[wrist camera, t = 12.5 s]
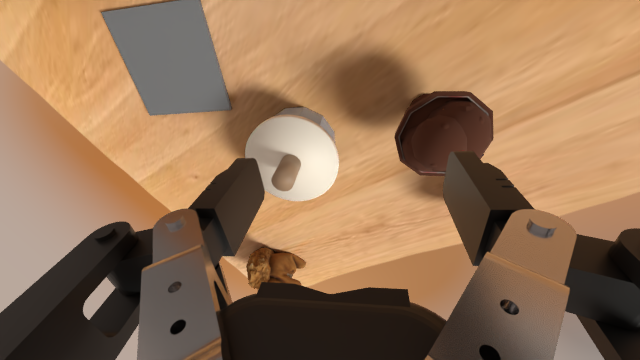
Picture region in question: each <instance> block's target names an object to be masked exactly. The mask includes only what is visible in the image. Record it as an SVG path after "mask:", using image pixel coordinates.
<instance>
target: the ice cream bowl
mask: <svg viewBox="0 0 640 360" xmlns="http://www.w3.org/2000/svg"><path fill="white" fill-rule="evenodd" d="M492 140H493V111H492V110H491V109H490V108H488V107H487V106H486V105H485V104H484V103H483V102H481V101H480V100H479V99H478V98H477V97H476V96H474V95H473V94H472V93H471V92H465V91H436V92H433V93H431V94H423V95H421V96H420V97H418V98H417V99H415V100H413V101H412V103H411V105H410V107H409V108H407V110H406V112H405V114H404V117H403V119H402V121H401V123H400V125H399V127H398V129H397V131H396V133H395V141H396V145H397V150H398V154H399V158H400V161H401V162H402V163H404V164H405V165H406V166H408V167H409V168H411V169H412V170H413V171H415V172H416V173H418V174H419V175H428V176H445V173H446V168H447V162H448V157H449V154H450V152H456V151H474V152H475V154H476V155H477V156H478V157H479V159H481V158H482V156H483V155H484V154H483V153H484V152H485V150H486V149H487V148H488V146H489V145H490V143H491V142H492Z"/></svg>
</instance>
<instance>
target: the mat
mask: <svg viewBox="0 0 640 360" xmlns="http://www.w3.org/2000/svg"><path fill="white" fill-rule="evenodd" d="M101 13H102V15H103V18H104V20H105V22H106V24H107V26H108V28H109V30H110V32H111V34H112V37H113V39H114V41H115V43H116V45H117V47H118V49H119V51H120V54H121V56H122V58H123V60H124V62H125V64H126V66H127V68H128V70H129V73H130V75H131V77H132V79H133V81H134V83H135V85H136V87H137V89H138V92H139V94H140V96H141V98H142V100H143V102H144V104H145V106H146V108H147V111H148V113H149V115H150V116H151V115H165V114H180V113H194V112H209V111H223V110H231V109H232V107H231V103H230V100H229V97H228V93H227V90H226V86H225V83H224V80H223V76H222V73H221V69H220V66H219V63H218V59H217V56H216V52H215V49H214V46H213V42H212V39H211V35H210V32H209V29H208V25H207V22H206V18H205V15H204V11H203V8H202V5H201V1H200V0H178V1H172V2H165V3H159V4H152V5H145V6H139V7H132V8H126V9H119V10H113V11H106V12H101Z"/></svg>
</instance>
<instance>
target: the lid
mask: <svg viewBox="0 0 640 360" xmlns="http://www.w3.org/2000/svg"><path fill="white" fill-rule="evenodd" d="M245 158H255V159H256V161H257V163H258V167H259V171H260V174H261V178H262V182H263V185H264V190H266V191H267V192H269V193H270V194H272V195H274V196H276V197H279V198H282V199H285V200H291V201H305V200H310V199H314V198H316V197H318V196H320V195H322V194H324V193H325V192H326V191H327V190H328V189H329V188H330V187H331V186H332V184H333V183H334V181H335V179H336V176H337V173H338V167H339V155H338V151H337V147H336V145H335V143H334V141H333V139H332V138H331V136H330V135H329V134H328V133H327V131H326V130H325V129H323V128H322V127H321V126H320V125H318V124H317V123H315V122H314V121H312V120H310V119H307V118H305V117H302V116H298V115H278V116H274V117H271V118H269V119H267V120H265V121H264V122H262V123H261V124H260V125H259V126H257V127H256V129H255V130H254V131H253V132H252V133H251V135H250V137H249V138H248V141H247V143H246V148H245Z"/></svg>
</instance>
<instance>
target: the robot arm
mask: <svg viewBox="0 0 640 360" xmlns="http://www.w3.org/2000/svg"><path fill="white" fill-rule="evenodd" d="M264 194H265V192H264V185H263V182H262V178H261V174H260V171H259V167H258V163H257V161H256V159H255V158H238V159H236V160H235V161H234V162H233V164H232V165H231V166H230V167H229V168H228V170H225V171H224V172H222V173H220V174H219V175H217V176H216V177H215V178H214V180H213V181H212V182H211V184H209V185H208V186H207V188H206V189H205V190H204V191H203V192H202V193H201V194H200V196H199V197H198V198H197V199H196V200H195V201H194V202H193V204H192V205H191V206H190V207H189V208H188V209H180V210H176V211H173V212H171V213H169V214H167V215H165V216H164V217H162V218H161V219H160V220H159V221H158V222H157V223H156V224H155V225H154V227H153V229H148V230H143V231H139V232H135V231H134V230H133V228H132V227H131V226H130V224H129V223H127V222H115V223H111V224H108V225H106V226H104V227H101V228H100V229H98V230H96V231H94V232H93V233H91V234H90V235H89V236H88V237H87V238H85V239H84V240H83V241H82V242H81V243H80V244H79V245H78V246H76V247H75V248H74V249H73V250H72V251H71V252H69V253H68V254H67V255H66V256H65V257H64V258H63V259H61V260H60V261H59V262H58V263H57V264H56V265H55V266H53V267H52V268H51V269H50V270H49V271H48V272H47V273H46V274H44V275H43V276H42V277H41V278H40V279H39V280H38V281H36V282H35V283H34V284H33V285H32V286H31V287H30V288H29V289H27V290H26V291H25V292H24V293H23V294H22V295H21V296H19V297H18V298H17V299H16V300H15V301H14V302H12V303H11V304H10V305H9V306H8V307H7V308H6V309H4V310H3V311H2V312H1V313H0V360H115V359H116V358H117V356H118V355H119V353H120V352H121V350H122V349H123V347H124V346H125V344H126V342H127V341H128V340H129V338H130V336H131V335H132V333H133V332H134V330H135V329H136V327H137V326H138V324H139V332H138V351H137V360H553V358H554V354H555V350H556V346H557V342H558V337H559V333H560V330H561V325H562V321H563V317H564V313H565V311H567V312H570V313H573V314H576V315H577V317H578V318H579V320H580V321H581V323H582V325H583V326H584V328H585V329H586V331H587V333H588V334H589V336H590V337H591V339H592V340H593V342H594V343H595V345H596V347H597V348H598V350H599V352H600V353H601V355H602V356H603V357H604V359H605V360H640V229H627V230H624V231H623V232H621V234H620V235H619V236H618V238H617V239H616V241H615V242H613V241H608V240H603V239H598V238H593V237H588V236H583V235H579V234H576V231H575V230H574V228H573V227H572V226H571V225H570V224H569V223H567V222H566V221H565V220H563V219H561V218H559V217H558V216H555V215H553V214H550V213H548V212H544V211H540V210H535V209H534V208H533V207H532V206H531V205H530V203H529V202H528V201H527V200H526V199H525V198H524V196H523V195H522V194H521V193H520V192H519V191H518V190H517V188H516V187H514V185H513V184H512V183H511V182H510V180H508V178H507V177H506V176H505V175H504V173H503V172H502V171H501V170H499V169H498V168H496V167H494V166H492V165H491V164H489V163H483V162H482V161H481V160H480V159H479V157H478V156H477V155H476V154H475V152H474V151H456V152H450V154H449V157H448V162H447V168H446V173H445V179H444V184H443V196H444V200H445V203H446V205H447V207H448V210H449V212H450V214H451V216H452V219H453V221H454V223H455V226H456V228H457V230H458V233H459V235H460V237H461V239H462V242H463V244H464V246H465V249H466V250H467V253H468V255H469V258H470V260H471V262H472V264H473V266H478V268H477V270H476V272H475V273H474V275H473V277H472V278H471V280H470V282H469V284H468V285H467V287H466V289H465V291H464V292H463V294H462V296H461V298H460V299H459V301H458V303H457V305H456V306H455V308H454V310H453V312H452V314H451V315H450V317H449V319H448V320H447V321H446V320H445V319H443V318H442V317H440V316H438V315H437V314H436V313H434V312H432V311H430V310H428V309H426V308H424V307H422V306H420V305H417V304H414V303H411V302H410V301H409V296H408V290H407V289H388V288H363V289H358V290H353V291H347V292H342V293H336V294H326V293H323V292H320V291H317V290H313V289H310V288H307V287H304V286H301V285H298V284H293V283H274V282H261V284H260V287H259V290H258V293H257V294H253V295H250V296H246V297H244V298H241V299H239V300H237V301H235V302H233V303H232V300H231V296H230V293H229V290H228V286H227V283H226V279H225V276H224V273H223V270H222V266H221V264H220V262H219V261H220V259H221V257H222V256H235V254H236V252H237V250H238V248H239V247H240V245H241V243H242V241H243V239H244V237H245V235H246V233H247V231H248V229H249V227H250V225H251V223H252V221H253V219H254V218H255V216H256V214H257V212H258V210H259V208H260V206H261V204H262V202H263V200H264ZM106 277H107V278H108V279H109V281H110V282H111V283H112V284H113V285H114V286H115V287H116V288H115V290H114V291H113V292H112V293H111V294H110V295H109V297H108V298H107V299H106V300H105V302H104V303H103V304H102V305H101V307H100V308H99V309H98V310H97V311H96V312H95V314H94V315H93V316H92V317H91V319H90V320H88V319H87V318H86V317H85V316H84V314H83V305H84V303H85V300H86V299H87V298H88V297H89V296H90V294H91V293H92V292H93V291H94V290H95V289H96V288H97V286H98V285H99V284H100V283H101V282H102V281H103V280H104V279H105V278H106Z"/></svg>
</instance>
